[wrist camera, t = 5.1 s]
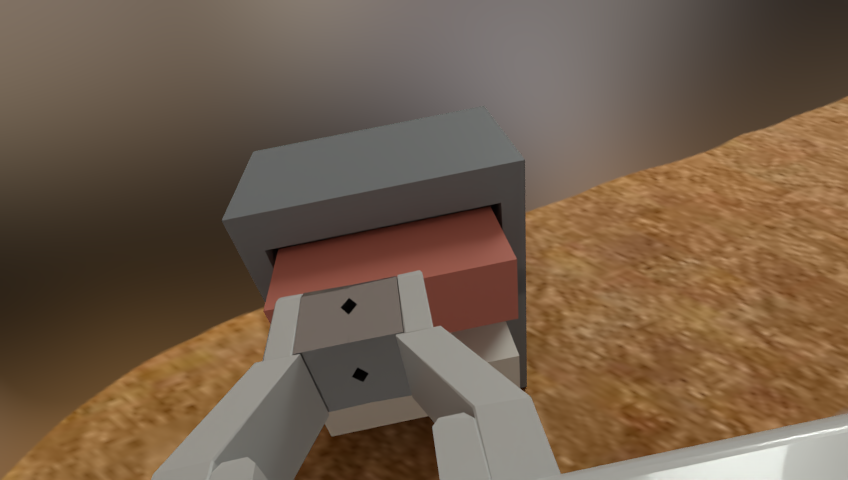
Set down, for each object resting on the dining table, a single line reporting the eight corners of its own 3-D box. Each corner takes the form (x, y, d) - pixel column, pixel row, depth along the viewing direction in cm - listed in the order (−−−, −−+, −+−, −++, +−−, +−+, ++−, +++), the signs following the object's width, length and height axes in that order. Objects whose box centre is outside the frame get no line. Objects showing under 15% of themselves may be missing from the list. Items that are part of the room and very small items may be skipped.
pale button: (520, 396, 22) (519, 355, 20) (331, 436, 22) (311, 399, 20) (499, 337, 25) (496, 297, 23) (334, 372, 25) (317, 334, 23)
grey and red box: (526, 386, 28) (524, 159, 18) (331, 427, 28) (221, 220, 18) (497, 310, 33) (483, 105, 24) (335, 344, 33) (253, 151, 23)
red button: (518, 318, 19) (516, 259, 17) (292, 365, 18) (263, 311, 16) (493, 261, 22) (490, 206, 20) (302, 300, 22) (278, 249, 20)
